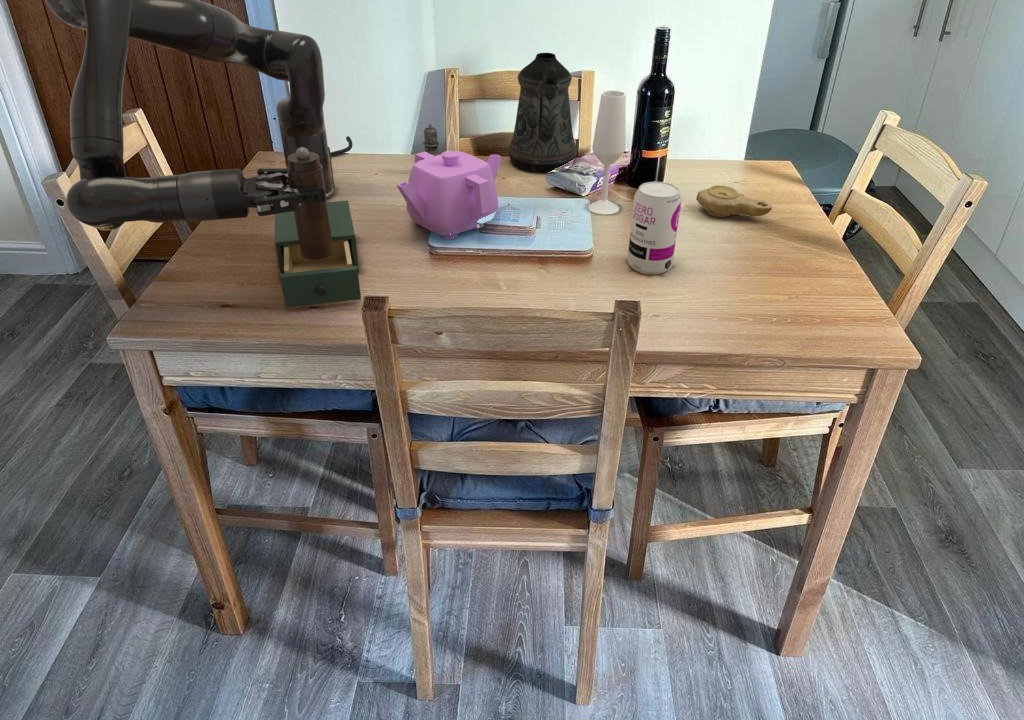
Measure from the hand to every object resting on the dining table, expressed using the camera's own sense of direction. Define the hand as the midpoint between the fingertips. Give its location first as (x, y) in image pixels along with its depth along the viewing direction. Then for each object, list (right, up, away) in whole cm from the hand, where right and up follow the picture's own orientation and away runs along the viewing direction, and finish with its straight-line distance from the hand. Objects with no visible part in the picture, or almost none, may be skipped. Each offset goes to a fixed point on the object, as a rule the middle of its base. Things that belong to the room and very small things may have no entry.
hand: (323, 186), depth 122 cm
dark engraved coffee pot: (+38, +20, +62) cm, 76 cm away
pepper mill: (-3, -10, +6) cm, 12 cm away
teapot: (+18, -1, +33) cm, 38 cm away
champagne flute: (+50, +5, +41) cm, 65 cm away
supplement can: (+56, -11, +19) cm, 60 cm away
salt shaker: (+12, +15, +56) cm, 59 cm away
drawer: (-3, -15, +10) cm, 18 cm away
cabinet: (-6, -9, +20) cm, 23 cm away
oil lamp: (+76, +3, +39) cm, 86 cm away
